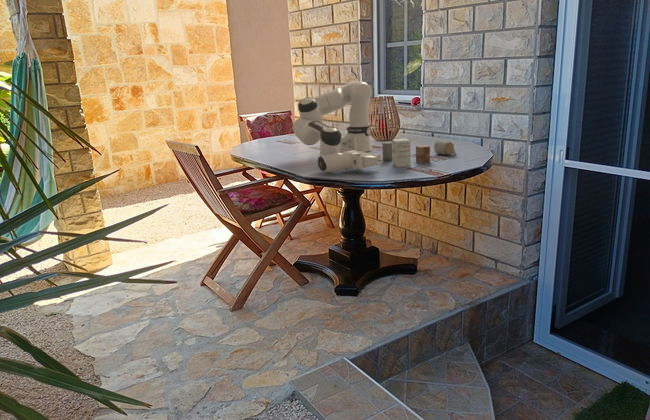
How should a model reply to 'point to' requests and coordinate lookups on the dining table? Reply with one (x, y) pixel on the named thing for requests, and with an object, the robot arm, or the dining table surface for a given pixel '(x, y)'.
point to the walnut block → (423, 154)
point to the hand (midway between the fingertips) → (378, 156)
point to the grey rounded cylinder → (387, 151)
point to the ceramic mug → (444, 147)
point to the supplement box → (401, 152)
